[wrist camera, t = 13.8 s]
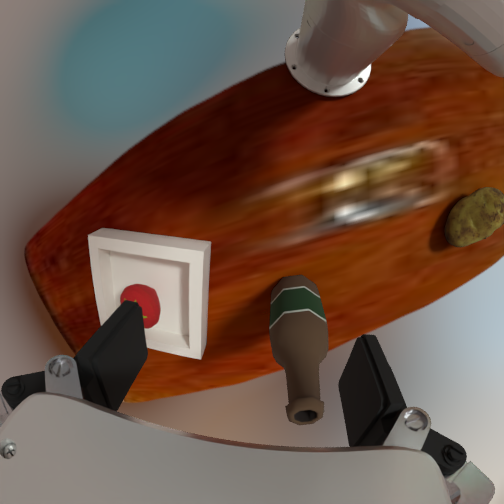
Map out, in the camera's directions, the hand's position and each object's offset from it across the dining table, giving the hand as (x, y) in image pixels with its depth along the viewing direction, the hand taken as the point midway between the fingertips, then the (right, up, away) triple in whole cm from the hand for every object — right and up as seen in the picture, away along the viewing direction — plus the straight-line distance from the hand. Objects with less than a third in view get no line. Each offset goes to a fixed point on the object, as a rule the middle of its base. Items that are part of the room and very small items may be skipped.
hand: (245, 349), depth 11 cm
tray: (-17, -2, +35) cm, 39 cm away
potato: (+37, +11, +25) cm, 46 cm away
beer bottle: (+7, -3, +33) cm, 34 cm away
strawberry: (-17, -3, +34) cm, 38 cm away
